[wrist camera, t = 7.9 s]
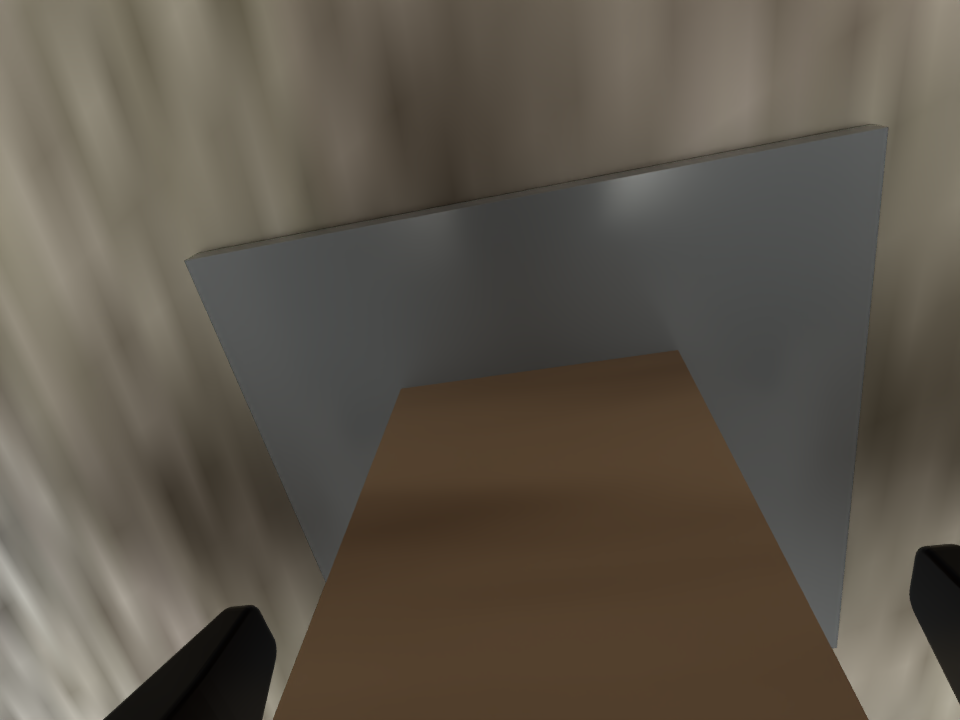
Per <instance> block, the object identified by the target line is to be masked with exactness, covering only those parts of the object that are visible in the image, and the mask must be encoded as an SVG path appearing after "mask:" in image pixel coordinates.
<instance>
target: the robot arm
mask: <svg viewBox="0 0 960 720" xmlns="http://www.w3.org/2000/svg"><path fill="white" fill-rule="evenodd" d="M909 595H910V602H911V606H912V609H913V611H914V613H915V615H916V617H917V619H918V622H919V624H920V626H921V628H922V630H923V632H924V634H925V636H926V638H927V640H928V642H929V644H930V646H931V648H932V650H933V652H934V654H935V656H936V658H937V660H938V662H939V664H940V666H941V668H942V670H943V672H944V674H945V676H946V678H947V680H948V682H949V684H950V686H951V688H952V690H953V692H954V694H955V696H956V698H957V700H958V702H959V704H960V546H959V545H955V544H944V545H933V546H924V547H921V548H920V549H919V550H918V551H917V552H916V556H915V561H914V567H913V573H912V579H911V585H910V593H909ZM276 652H277V650H276V643H275V639H274V637H273V635H272V633H271V631H270V630H269V628H268V626H267V624H266V622H265V620H264V618H263V616H262V614H261V612H260V611H259V609H258V608H257V607H255V606H254V605H245V606H233V607H229V608H227V609H225V610H224V611H223V612H221V613H220V614H219V615H218V616H217V617H216V618H215V619H214V620H212V621H211V622H210V623H209V624H208V625H207V626H206V627H205V628H204V629H203V630H201V631H200V632H199V633H198V634H197V635H196V636H195V637H194V638H193V639H192V640H190V641H189V642H188V643H187V644H186V645H185V646H184V647H183V648H182V649H180V650H179V651H178V652H177V653H176V654H175V655H174V656H173V657H172V658H171V659H169V660H168V661H167V662H166V663H165V664H164V665H163V666H162V667H161V668H160V669H158V670H157V671H156V672H155V673H154V674H153V675H152V676H151V677H150V678H149V679H147V680H146V681H145V682H144V683H143V684H142V685H141V686H140V687H139V688H138V689H136V690H135V691H134V692H133V693H132V694H131V695H130V696H129V697H128V698H126V699H125V700H124V701H123V702H122V703H121V704H120V705H119V706H118V707H117V708H115V709H114V710H113V711H112V712H111V713H110V714H109V715H108V716H107V717H106V718H104V719H103V720H262V719H263V714H264V710H265V705H266V701H267V696H268V692H269V687H270V683H271V678H272V674H273V669H274V665H275V660H276Z"/></svg>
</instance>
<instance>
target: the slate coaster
mask: <svg viewBox="0 0 960 720" xmlns="http://www.w3.org/2000/svg"><path fill="white" fill-rule="evenodd" d="M887 136H888V127H885V126H880V125H874V124H870V125H865V126H859V127H854V128H849V129H844V130H838V131H833V132H828V133H823V134H818V135H812V136H807V137H802V138H797V139H791V140H786V141H781V142H776V143H771V144H765V145H760V146H755V147H750V148H744V149H739V150H734V151H729V152H724V153H718V154H713V155H708V156H703V157H697V158H692V159H687V160H682V161H677V162H671V163H666V164H661V165H656V166H650V167H645V168H640V169H635V170H630V171H624V172H619V173H614V174H609V175H603V176H598V177H593V178H588V179H583V180H577V181H572V182H567V183H562V184H556V185H551V186H546V187H541V188H535V189H530V190H525V191H520V192H515V193H509V194H504V195H499V196H494V197H488V198H483V199H478V200H473V201H468V202H462V203H457V204H452V205H447V206H441V207H436V208H431V209H426V210H421V211H415V212H410V213H405V214H400V215H394V216H389V217H384V218H379V219H374V220H368V221H363V222H358V223H353V224H347V225H342V226H337V227H332V228H327V229H321V230H316V231H311V232H306V233H300V234H295V235H290V236H285V237H280V238H274V239H269V240H264V241H259V242H253V243H248V244H243V245H238V246H233V247H227V248H222V249H217V250H212V251H206V252H201V253H197V254H195V255H194V256H192V257H190V258H188V259H187V260H185V263H186V266H187V268H188V270H189V272H190V275H191V277H192V279H193V282H194V284H195V286H196V288H197V291H198V293H199V295H200V298H201V300H202V302H203V304H204V307H205V309H206V311H207V313H208V316H209V318H210V320H211V323H212V325H213V327H214V329H215V332H216V334H217V336H218V338H219V341H220V343H221V345H222V348H223V350H224V352H225V354H226V357H227V359H228V361H229V364H230V366H231V368H232V370H233V373H234V375H235V377H236V379H237V382H238V384H239V386H240V389H241V391H242V393H243V395H244V398H245V400H246V402H247V405H248V407H249V409H250V411H251V414H252V416H253V418H254V420H255V423H256V425H257V427H258V430H259V432H260V434H261V436H262V439H263V441H264V443H265V445H266V448H267V450H268V452H269V455H270V457H271V459H272V461H273V464H274V466H275V468H276V471H277V473H278V475H279V477H280V480H281V482H282V484H283V486H284V489H285V491H286V493H287V496H288V498H289V500H290V502H291V505H292V507H293V509H294V511H295V514H296V516H297V518H298V521H299V523H300V525H301V527H302V530H303V532H304V534H305V537H306V539H307V541H308V543H309V546H310V548H311V550H312V552H313V555H314V557H315V559H316V562H317V564H318V566H319V568H320V571H321V573H322V575H323V577H324V580H325V582H326V581H327V579H328V576H329V573H330V571H331V568H332V566H333V563H334V560H335V558H336V555H337V553H338V550H339V548H340V545H341V542H342V540H343V537H344V535H345V532H346V529H347V527H348V524H349V522H350V519H351V517H352V514H353V511H354V509H355V506H356V504H357V501H358V499H359V496H360V493H361V491H362V488H363V486H364V483H365V480H366V478H367V475H368V473H369V470H370V468H371V465H372V462H373V460H374V457H375V455H376V452H377V449H378V447H379V444H380V442H381V439H382V437H383V434H384V431H385V429H386V426H387V424H388V421H389V419H390V416H391V413H392V411H393V408H394V406H395V403H396V400H397V398H398V395H399V393H400V390H401V389H403V388H410V387H417V386H425V385H432V384H439V383H446V382H453V381H460V380H467V379H475V378H482V377H489V376H496V375H503V374H510V373H517V372H525V371H532V370H539V369H546V368H553V367H560V366H567V365H575V364H582V363H589V362H596V361H603V360H610V359H618V358H625V357H632V356H639V355H646V354H653V353H660V352H668V351H675V350H678V351H679V353H680V355H681V356H682V358H683V360H684V362H685V364H686V366H687V368H688V370H689V372H690V374H691V376H692V378H693V380H694V382H695V384H696V386H697V388H698V390H699V391H700V393H701V395H702V397H703V399H704V401H705V403H706V405H707V407H708V409H709V411H710V413H711V415H712V417H713V419H714V421H715V423H716V424H717V426H718V428H719V430H720V432H721V434H722V436H723V438H724V440H725V442H726V444H727V446H728V448H729V450H730V452H731V454H732V456H733V457H734V459H735V461H736V463H737V465H738V467H739V469H740V471H741V473H742V475H743V477H744V479H745V481H746V483H747V485H748V487H749V489H750V490H751V492H752V494H753V496H754V498H755V500H756V502H757V504H758V506H759V508H760V510H761V512H762V514H763V516H764V518H765V520H766V522H767V523H768V525H769V527H770V529H771V531H772V533H773V535H774V537H775V539H776V541H777V543H778V545H779V547H780V549H781V551H782V553H783V555H784V556H785V558H786V560H787V562H788V564H789V566H790V568H791V570H792V572H793V574H794V576H795V578H796V580H797V582H798V584H799V586H800V588H801V589H802V591H803V593H804V595H805V597H806V599H807V601H808V603H809V605H810V607H811V609H812V611H813V613H814V615H815V617H816V619H817V621H818V623H819V624H820V626H821V628H822V630H823V632H824V634H825V636H826V638H827V640H828V642H829V644H830V646H831V648H837V640H838V630H839V620H840V610H841V600H842V590H843V579H844V569H845V559H846V549H847V539H848V529H849V519H850V509H851V499H852V489H853V479H854V469H855V458H856V448H857V438H858V428H859V418H860V408H861V398H862V388H863V378H864V368H865V358H866V348H867V337H868V327H869V317H870V307H871V297H872V287H873V277H874V267H875V257H876V247H877V237H878V227H879V217H880V206H881V196H882V186H883V176H884V166H885V156H886V146H887Z"/></svg>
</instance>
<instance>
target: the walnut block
mask: <svg viewBox="0 0 960 720" xmlns="http://www.w3.org/2000/svg"><path fill="white" fill-rule="evenodd" d="M273 720H868V718H867V716H866V714H865V712H864V710H863V708H862V706H861V704H860V702H859V700H858V698H857V696H856V694H855V692H854V690H853V689H852V687H851V685H850V683H849V681H848V679H847V677H846V675H845V673H844V671H843V669H842V667H841V665H840V663H839V661H838V659H837V657H836V656H835V654H834V652H833V650H832V648H831V646H830V644H829V642H828V640H827V638H826V636H825V634H824V632H823V630H822V628H821V626H820V624H819V623H818V621H817V619H816V617H815V615H814V613H813V611H812V609H811V607H810V605H809V603H808V601H807V599H806V597H805V595H804V593H803V591H802V589H801V588H800V586H799V584H798V582H797V580H796V578H795V576H794V574H793V572H792V570H791V568H790V566H789V564H788V562H787V560H786V558H785V556H784V555H783V553H782V551H781V549H780V547H779V545H778V543H777V541H776V539H775V537H774V535H773V533H772V531H771V529H770V527H769V525H768V523H767V522H766V520H765V518H764V516H763V514H762V512H761V510H760V508H759V506H758V504H757V502H756V500H755V498H754V496H753V494H752V492H751V490H750V489H749V487H748V485H747V483H746V481H745V479H744V477H743V475H742V473H741V471H740V469H739V467H738V465H737V463H736V461H735V459H734V457H733V456H732V454H731V452H730V450H729V448H728V446H727V444H726V442H725V440H724V438H723V436H722V434H721V432H720V430H719V428H718V426H717V424H716V423H715V421H714V419H713V417H712V415H711V413H710V411H709V409H708V407H707V405H706V403H705V401H704V399H703V397H702V395H701V393H700V391H699V390H698V388H697V386H696V384H695V382H694V380H693V378H692V376H691V374H690V372H689V370H688V368H687V366H686V364H685V362H684V360H683V358H682V356H681V355H680V353H679V351H678V350H675V351H668V352H660V353H653V354H646V355H639V356H632V357H625V358H618V359H610V360H603V361H596V362H589V363H582V364H575V365H567V366H560V367H553V368H546V369H539V370H532V371H525V372H517V373H510V374H503V375H496V376H489V377H482V378H475V379H467V380H460V381H453V382H446V383H439V384H432V385H425V386H417V387H410V388H403V389H401V390H400V393H399V395H398V398H397V400H396V403H395V406H394V408H393V411H392V413H391V416H390V419H389V421H388V424H387V426H386V429H385V431H384V434H383V437H382V439H381V442H380V444H379V447H378V449H377V452H376V455H375V457H374V460H373V462H372V465H371V468H370V470H369V473H368V475H367V478H366V480H365V483H364V486H363V488H362V491H361V493H360V496H359V499H358V501H357V504H356V506H355V509H354V511H353V514H352V517H351V519H350V522H349V524H348V527H347V529H346V532H345V535H344V537H343V540H342V542H341V545H340V548H339V550H338V553H337V555H336V558H335V560H334V563H333V566H332V568H331V571H330V573H329V576H328V579H327V581H326V584H325V586H324V589H323V591H322V594H321V597H320V599H319V602H318V604H317V607H316V609H315V612H314V615H313V617H312V620H311V622H310V625H309V628H308V630H307V633H306V635H305V638H304V640H303V643H302V646H301V648H300V651H299V653H298V656H297V658H296V661H295V664H294V666H293V669H292V671H291V674H290V677H289V679H288V682H287V684H286V687H285V689H284V692H283V695H282V697H281V700H280V702H279V705H278V708H277V710H276V713H275V715H274V718H273Z"/></svg>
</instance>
